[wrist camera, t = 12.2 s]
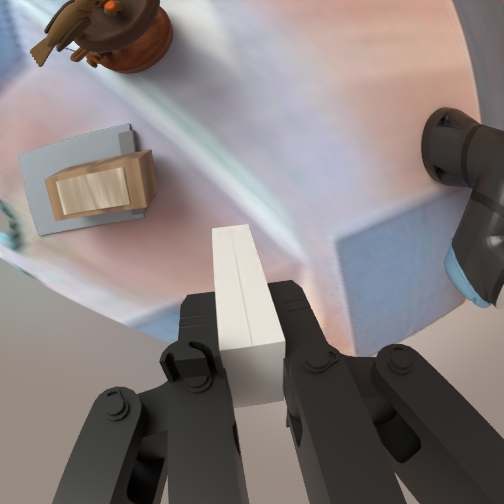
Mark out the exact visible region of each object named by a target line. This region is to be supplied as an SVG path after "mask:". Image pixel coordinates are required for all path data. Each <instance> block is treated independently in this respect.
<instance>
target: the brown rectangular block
mask: <svg viewBox="0 0 504 504" xmlns="http://www.w3.org/2000/svg"><path fill="white" fill-rule="evenodd" d="M45 184H46V188H47V192H48V196H49V200H50V204H51V207H52V211H53V215H54V218H55V221H60V220H66V219H72V218H78V217H84V216H90V215H96V214H103V213H109V212H116V211H123V210H131V209H138V208H146V207H147V206H148V205H149V204H150V202H151V201H152V199H153V198H154V197H155V195H156V194H157V192H158V189H157V183H156V177H155V171H154V164H153V157H152V150H146V151H140V152H135V153H129V154H124V155H119V156H114V157H109V158H104V159H100V160H95V161H91V162H87V163H83V164H78V165H74V166H71V167H67V168H64V169H62V170H61V171H59V172H57V173H55V174H53V175H52V176H50V177H48V178H46V179H45Z"/></svg>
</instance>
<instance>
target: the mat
mask: <svg viewBox="0 0 504 504" xmlns="http://www.w3.org/2000/svg"><path fill="white" fill-rule="evenodd" d="M135 152H137V150H136V142H135V134H134V130H130V124H126V125H121V126H116V127H112V128H108V129H103V130H99V131H95V132H91V133H87V134H84V135H80V136H76V137H73V138H69V139H66V140H63V141H59V142H56V143H53V144H50V145H47V146H44V147H41V148H38V149H35V150H32V151H30V152H27V153H24V154H22V155H19V156H18V160H19V165H20V170H21V175H22V179H23V184H24V188H25V192H26V196H27V200H28V204H29V207H30V211H31V214H32V218H33V221H34V224H35V227H36V230H37V233H38V236H40V235H45V234H50V233H56V232H61V231H66V230H72V229H78V228H83V227H89V226H95V225H101V224H107V223H114V222H120V221H126V220H133V219H140V218H144V213H145V212H146V208H138V209H131V210H123V211H116V212H109V213H103V214H96V215H90V216H84V217H78V218H72V219H66V220H60V221H55V218H54V215H53V211H52V207H51V204H50V200H49V196H48V192H47V188H46V184H45V179H46V178H48V177H50V176H52V175H53V174H55V173H57V172H59V171H61V170H62V169H64V168H67V167H71V166H74V165H78V164H83V163H87V162H91V161H95V160H100V159H104V158H109V157H114V156H119V155H124V154H129V153H135Z"/></svg>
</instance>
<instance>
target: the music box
mask: <svg viewBox="0 0 504 504" xmlns="http://www.w3.org/2000/svg"><path fill="white" fill-rule="evenodd" d="M159 5H160V0H70V1H68V2H66V3H65V4H64V5H63V6H62V7H61V8H60V9H59V11H58V12H57V13H56V14H55V15H54V17H53V18H52V19H51V21H50V22H49V24H48V25H47V27H46V29H45V30H44V32H45V33H46V34H47V33H48V35H47V37H46V38H45V39H43V40H42V41H41V42H40V43H38V44H37V45H36V46H35V47H33V48H32V49H31V50H30V54H32V57H34V60H36V63H37V64H38V66H39V67H42V66H43V64H44V63H45V61H46V59H47V58H48V56H49V54H50V53H51V51H52V50H53V48H54V47H55V46H56V48H57V51H58V52H60V51H62V50H63V49H67V50H70V51H74V50H71V49H68V48H65V47H67V46H68V45H69V44H70V43H71V42H72V41H74V42H75V43H76V44H77V45H78V46H80V48H79V49H77V50H76V51H74V53H73V54H72V55H71V58H70V59H71V61H74V62H79V61H80V60H82V59H83V58H84V57H85V56H86V58H87V60H86V61H87V63H88V64H90V65H91V66H92V67H94V68H96V67H97V63H98V64H101V65H103V66H104V67H106V68H108V69H111V70H114V71H117V72H120V73H135V72H139V71H142V70H145V69H147V68H149V67H151V66H152V65H154V64H155V63H157V62H158V61H159V60H160V59H161V58H162V57H163V56H164V55H165V53H166V52H167V50H168V48H169V46H170V44H171V41H172V36H173V30H172V25H171V22H170V20H169V17H168V15H167V13H166V12H165V11H164V9H163V8H161V7H160V6H159ZM90 52H91V53H90Z"/></svg>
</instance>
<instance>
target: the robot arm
mask: <svg viewBox="0 0 504 504" xmlns="http://www.w3.org/2000/svg"><path fill="white" fill-rule="evenodd" d="M421 149H422V158H423V162H424V165H425V168H426V170H427V172H428V173H429V175H430V176H431V177H432V178H433V179H434V180H436V181H438V182H440V183H442V184H444V185H447V186H459V187H470V188H472V189H473V190H472V193H471V196H470V199H469V201H468V204H467V206H466V209H465V211H464V214H463V216H462V219H461V221H460V223H459V226H458V228H457V230H456V233H455V235H454V237H453V238H452V239H451V242H450V247H449V250H448V252H447V254H446V257H445V260H444V266H445V271H446V273H447V275H448V277H449V279H450V280H451V282H452V283H453V284H454V286H455V287H456V288H457V289H458V290H459V291H460V292H461V293H462V294H463V295H464V296H465V297H466V298H467V299H468V300H472V302H473V303H474V304H475V305H477V306H479V307H481V308H487V307H489V306H490V305H492V304H493V305H494V306H495V307H496V308H497V309H499V308H504V218H503V217H504V131H502V130H499V129H495V128H492V127H488V126H485V125H481V124H480V123H478V122H477V121H475V120H474V119H473V118H471V117H470V116H468V115H467V114H465V113H464V112H462V111H460V110H458V109H453V108H448V107H444V108H440V109H438V110H437V111H435V112H434V113H433V114H432V115H431V116H430V118H429V119H428V121H427V123H426V125H425V128H424V131H423V135H422V144H421ZM480 203H481V204H480ZM487 207H488V208H487ZM495 212H496V213H495ZM500 215H501V216H500ZM212 241H213V262H214V280H215V292H207V293H199V294H190V295H187V297H186V298H185V300H184V301H183V303H182V304H181V309H180V322H179V336H178V341H176V342H174V343H172V344H171V345H169V346H168V347H167V348H166V349H165V350H164V352H163V353H162V355H161V358H160V361H159V362H160V364H161V366H162V369H163V371H164V373H165V375H166V377H167V379H168V381H167V382H165V383H164V384H163V385H161V386H159V387H157V388H154V389H151V390H148V391H145V392H142V393H139V394H136V393H135V392H134V391H133V390H131V389H128V388H126V387H113V388H110V389H107V390H105V391H104V392H103V393H101V394H100V395H99V396H98V398H97V399H96V400H95V402H94V404H93V406H92V408H91V410H90V412H89V414H88V417H87V419H86V421H85V423H84V425H83V427H82V430H81V432H80V434H79V436H78V439H77V441H76V443H75V446H74V448H73V450H72V453H71V455H70V458H69V460H68V463H67V465H66V468H65V470H64V473H63V475H62V478H61V480H60V483H59V486H58V489H57V491H56V494H55V497H54V500H53V503H52V504H160V502H161V498H162V494H163V490H164V486H165V482H166V479H167V475H168V496H169V504H249V499H248V494H247V488H246V482H245V476H244V470H243V463H242V457H241V451H240V444H239V437H238V430H237V424H236V420H235V415H234V408H238V407H246V406H253V405H260V404H266V403H272V402H277V401H283V400H284V396H285V400H286V404H287V419H286V427H290V430H291V434H292V437H293V441H294V445H295V449H296V453H297V457H298V461H299V464H300V468H301V472H302V476H303V479H304V483H305V487H306V491H307V495H308V498H309V502H310V504H407V503H406V501H405V498H404V495H403V493H402V490H401V488H400V485H399V483H398V480H397V478H396V476H395V473H396V474H397V476H398V477H399V478H400V480H401V481H402V482H403V483H404V485H405V486H406V487H407V488H408V490H409V491H410V492H411V493H412V495H413V496H414V497H415V498H416V500H417V501H418V502H419V503H420V504H504V439H503V438H502V437H501V436H500V435H499V434H498V433H497V432H496V430H495V429H494V428H493V427H492V426H491V425H490V424H489V423H488V422H487V421H486V420H485V419H484V418H483V417H482V416H481V415H480V414H479V413H478V411H477V410H475V408H474V407H473V406H472V405H471V404H470V403H469V402H468V401H467V400H466V399H465V398H464V397H463V396H462V395H461V394H460V393H459V392H458V391H457V390H456V389H455V388H454V387H453V386H452V385H451V384H450V383H448V381H447V380H446V379H445V378H444V377H443V376H442V375H441V374H440V373H439V372H437V370H436V369H435V368H434V367H433V366H432V365H430V364H429V363H428V362H427V361H426V360H425V359H424V358H423V357H422V356H421V355H420V354H419V353H418V352H417V351H415V350H414V349H412V348H411V347H409V346H406V345H403V344H391V345H388V346H385V347H383V348H382V349H381V350H380V351H379V352H378V354H377V357H352V356H347V355H344V354H341V353H340V352H339V351H338V350H337V349H336V348H334V347H332V346H331V345H329V344H328V342H327V341H326V338H325V336H324V334H323V332H322V330H321V328H320V325H319V323H318V321H317V319H316V317H315V315H314V313H313V310H312V309H311V306H310V304H309V302H308V300H307V298H306V296H305V293H304V291H303V289H302V288H301V287H300V286H299V285H298V284H296V283H295V282H294V281H292V280H288V281H281V282H274V283H267V282H266V279H265V276H264V273H263V270H262V266H261V263H260V260H259V257H258V254H257V251H256V248H255V245H254V242H253V239H252V235H251V232H250V229H249V226H248V224H245V225H237V226H229V227H221V228H213V229H212ZM394 472H395V473H394Z"/></svg>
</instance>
